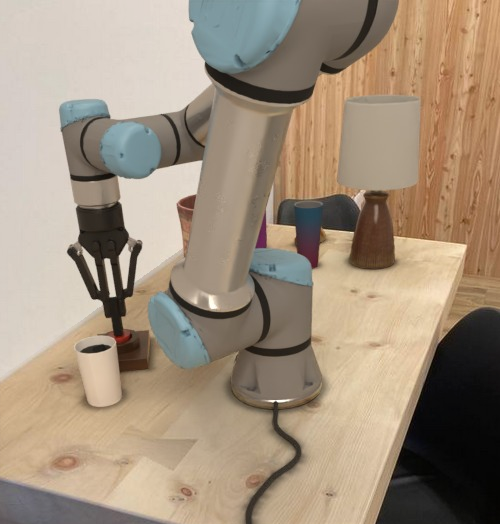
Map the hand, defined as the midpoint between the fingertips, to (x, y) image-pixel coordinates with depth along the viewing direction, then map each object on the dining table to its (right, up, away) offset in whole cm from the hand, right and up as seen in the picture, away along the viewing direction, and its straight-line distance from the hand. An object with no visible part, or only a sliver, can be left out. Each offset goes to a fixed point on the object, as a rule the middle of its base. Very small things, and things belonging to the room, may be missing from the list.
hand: (118, 332), depth 117 cm
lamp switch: (0, -2, +1) cm, 2 cm away
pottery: (+17, +18, +37) cm, 45 cm away
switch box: (0, -4, +2) cm, 5 cm away
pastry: (+41, +31, +57) cm, 76 cm away
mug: (+23, +27, +51) cm, 62 cm away
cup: (+39, +21, +41) cm, 60 cm away
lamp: (+55, +22, +41) cm, 72 cm away
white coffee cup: (0, -12, -10) cm, 16 cm away
